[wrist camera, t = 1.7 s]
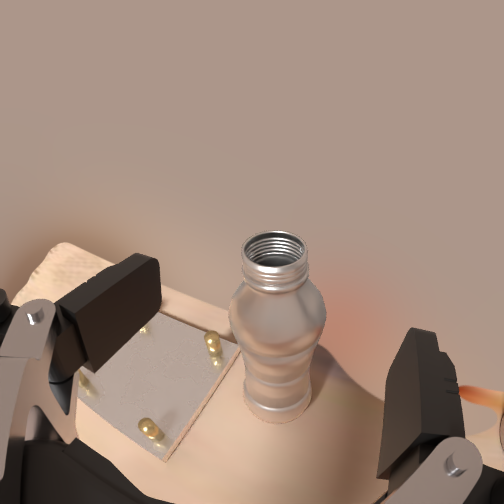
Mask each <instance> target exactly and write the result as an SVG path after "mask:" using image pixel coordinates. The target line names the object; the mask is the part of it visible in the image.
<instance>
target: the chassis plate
mask: <svg viewBox="0 0 504 504" xmlns="http://www.w3.org/2000/svg"><path fill="white" fill-rule="evenodd" d="M239 353H240V348H239V346H238V345H237V344H235V343H232V342H229V341H227V340H224V339H222V338H219V335H218V333H217V332H216V331H208V332H204V331H202V330H199V329H197V328H194V327H192V326H189V325H187V324H185V323H182V322H180V321H178V320H175V319H173V318H171V317H168V316H166V315H164V314H162V313H159V312H157V314H156V315H155V316H154V317H153V318H152V319H151V320H150V321H149V322H148V323H147V324H146V325H145V326H144V327H143V328H141V329H140V330H139V331H138V332H137V333H136V334H135V335H134V336H133V337H132V338H131V339H130V340H129V341H128V342H127V343H126V344H125V345H124V346H123V347H122V348H121V349H120V350H119V351H117V352H116V353H115V354H114V355H113V356H112V357H111V358H110V359H109V360H108V361H107V362H106V363H105V364H104V365H103V366H102V367H101V368H100V369H99V370H98V371H97V372H96V373H95V374H94V373H93V372H91V371H90V370H88V369H86V368H85V367H83V366H82V367H80V368H79V369H78V372H79V386H78V395H77V397H78V398H79V399H80V400H81V401H82V402H83V403H84V404H86V405H87V406H88V407H89V408H90V409H91V410H93V411H94V412H95V413H96V414H98V415H99V416H100V417H101V418H102V419H104V420H105V421H106V422H108V423H109V424H110V425H111V426H113V427H114V428H115V429H117V430H118V431H119V432H121V433H122V434H123V435H125V436H126V437H127V438H129V439H130V440H132V441H133V442H135V443H136V444H137V445H139V446H140V447H142V448H143V449H145V450H146V451H148V452H149V453H151V454H152V455H154V456H155V457H157V458H159V459H160V460H162V461H163V462H165V463H166V461H167V460H168V459H169V457H170V456H171V454H172V453H173V451H174V450H175V449H176V447H177V446H178V444H179V443H180V441H181V440H182V439H183V437H184V436H185V434H186V433H187V431H188V430H189V428H190V427H191V425H192V424H193V423H194V421H195V420H196V418H197V417H198V415H199V414H200V412H201V411H202V409H203V408H204V406H205V405H206V403H207V402H208V400H209V399H210V397H211V396H212V394H213V393H214V391H215V390H216V388H217V387H218V385H219V384H220V382H221V381H222V379H223V377H224V376H225V374H226V373H227V371H228V370H229V368H230V367H231V365H232V364H233V362H234V360H235V359H236V357H237V356H238V354H239Z"/></svg>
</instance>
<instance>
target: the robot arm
mask: <svg viewBox="0 0 504 504" xmlns="http://www.w3.org/2000/svg"><path fill="white" fill-rule="evenodd" d="M161 301H162V295H161V282H160V267H159V262H158V260H157V259H155V258H152V257H149V256H146V255H143V254H139V253H135V254H133V255H131V256H130V257H128V258H127V259H125V260H123V261H122V262H120V263H119V264H116V265H113V266H110V267H107V268H106V269H104V270H102V271H101V272H99V273H98V274H96V276H93V277H92V278H90V279H89V280H87V283H86V282H84V283H83V284H81V285H80V286H78V287H77V288H75V289H74V290H72V291H71V292H69V293H68V294H67V295H65V296H64V297H62V298H61V299H59V300H58V301H56V302H55V303H52V302H51V301H49V300H46V299H36V300H32V301H29V302H27V303H25V304H23V305H22V306H21V307H18V306H14V305H10V303H9V301H8V298H7V295H6V292H5V291H4V290H3V289H0V504H174V503H170V502H166V501H162V500H158V499H154V498H151V497H148V496H146V495H144V494H143V493H142V492H141V491H140V490H138V489H137V488H136V487H135V486H134V485H133V484H132V483H131V482H130V481H129V480H128V479H127V478H126V477H125V476H124V475H123V474H122V473H121V472H120V471H119V470H118V469H117V468H116V467H115V466H114V465H113V464H112V463H111V462H110V461H109V460H108V459H106V458H105V457H103V456H102V455H100V454H99V453H97V452H96V451H94V450H93V449H91V448H90V447H89V446H87V445H86V444H85V443H83V442H82V441H80V440H79V437H78V433H77V430H76V425H75V418H76V405H77V395H78V386H79V372H78V369H79V368H80V367H82V366H83V367H85V368H86V369H88V370H90V371H91V372H93V373H94V374H95V373H96V372H97V371H98V370H99V369H100V368H101V367H102V366H103V365H104V364H105V363H106V362H107V361H108V360H109V359H110V358H111V357H112V356H113V355H114V354H115V353H116V352H117V351H119V350H120V349H121V348H122V347H123V346H124V345H125V344H126V343H127V342H128V341H129V340H130V339H131V338H132V337H133V336H134V335H135V334H136V333H137V332H138V331H139V330H140V329H141V328H143V327H144V326H145V325H146V324H147V323H148V322H149V321H150V320H151V319H152V318H153V317H154V316H155V315H156V314H157V312H158V311H159V309H160V306H161ZM456 382H457V377H456V372H455V367H454V365H453V363H452V362H451V360H450V358H449V357H448V355H447V354H446V353H445V352H440V351H439V347H438V342H437V337H436V334H435V333H434V332H430V331H426V330H421V329H417V328H410V330H409V331H408V332H407V334H406V337H405V339H404V341H403V343H402V345H401V347H400V349H399V351H398V353H397V355H396V357H395V359H394V361H393V363H392V365H391V367H390V369H389V373H388V376H387V380H386V388H385V389H386V390H385V406H384V419H383V430H382V440H381V448H380V456H379V464H378V471H377V477H376V478H378V479H386V480H389V486H388V490H387V491H386V492H384V493H383V494H382V495H381V496H380V497H379V498H378V499H377V500H375V501H374V502H373V503H372V504H504V472H503V471H500V470H497V469H494V468H491V467H489V466H486V465H484V464H483V462H482V457H481V454H480V452H479V450H478V449H477V447H476V446H475V445H474V444H473V443H472V442H470V441H469V440H467V439H466V438H465V430H464V421H463V413H462V407H461V399H460V395H458V394H459V387H458V383H456ZM500 438H501V444H502V447H503V450H504V416H503V418H502V421H501V426H500Z"/></svg>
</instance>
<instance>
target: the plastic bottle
mask: <svg viewBox="0 0 504 504" xmlns="http://www.w3.org/2000/svg"><path fill="white" fill-rule="evenodd" d="M241 254H242V262H243V265H242V274H243V278H244V281H243V282H242V283H241V285H240V286H239V287H238V289H237V290H236V292H235V293H234V295H233V297H232V300H231V304H230V308H229V322H230V326H231V329H232V332H233V334H234V337H235V339H236V341H237V343H238V346H239V348H240V350H241V353H242V356H243V360H244V364H245V381H244V386H243V397H244V401H245V403H246V405H247V407H248V408H249V410H250V411H251V412H252V413H253V415H255V416H256V417H257V418H258V419H260V420H262V421H265V422H268V423H273V424H282V423H287V422H290V421H292V420H294V419H296V418H297V417H299V416H300V415H301V414H302V413H303V412H304V410H305V409H306V408H307V406H308V404H309V403H310V400H311V395H312V388H311V381H310V364H311V360H312V357H313V353H314V350H315V348H316V346H317V343H318V341H319V339H320V336H321V334H322V331H323V328H324V325H325V321H326V309H325V305H324V301H323V297H322V295H321V293H320V291H319V290H318V289H317V288H316V287H315V285H314V284H313V283H312V282H311V281H310V280H309V279H308V276H309V265H308V262H307V259H308V250H307V245H306V243H305V242H304V240H303V239H302V238H300V237H299V236H297V235H295V234H293V233H290V232H286V231H278V230H273V231H264V232H260V233H257V234H255V235H253V236H251V237H249V238H248V239H247V240H246V241H245V242H244V244H243V246H242V252H241Z"/></svg>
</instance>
